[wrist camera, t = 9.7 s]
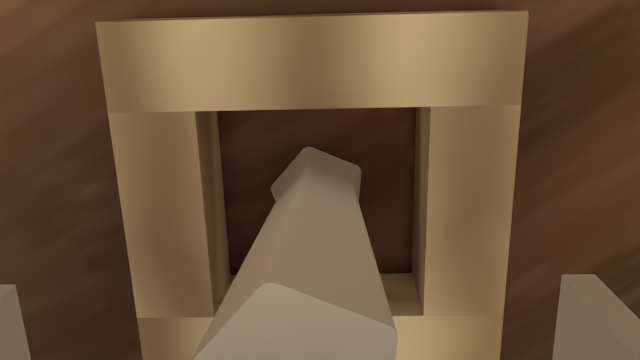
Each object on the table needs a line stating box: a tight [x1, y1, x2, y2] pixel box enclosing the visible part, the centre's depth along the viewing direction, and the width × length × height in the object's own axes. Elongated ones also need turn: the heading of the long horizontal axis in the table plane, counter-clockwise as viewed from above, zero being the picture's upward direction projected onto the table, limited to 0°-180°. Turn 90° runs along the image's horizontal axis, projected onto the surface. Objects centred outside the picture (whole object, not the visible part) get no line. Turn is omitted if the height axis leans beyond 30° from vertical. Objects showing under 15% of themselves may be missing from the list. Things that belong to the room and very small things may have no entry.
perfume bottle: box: [191, 147, 398, 360], centre depth 16 cm, size 5×4×15 cm
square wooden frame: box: [95, 9, 529, 360], centre depth 22 cm, size 14×14×4 cm
